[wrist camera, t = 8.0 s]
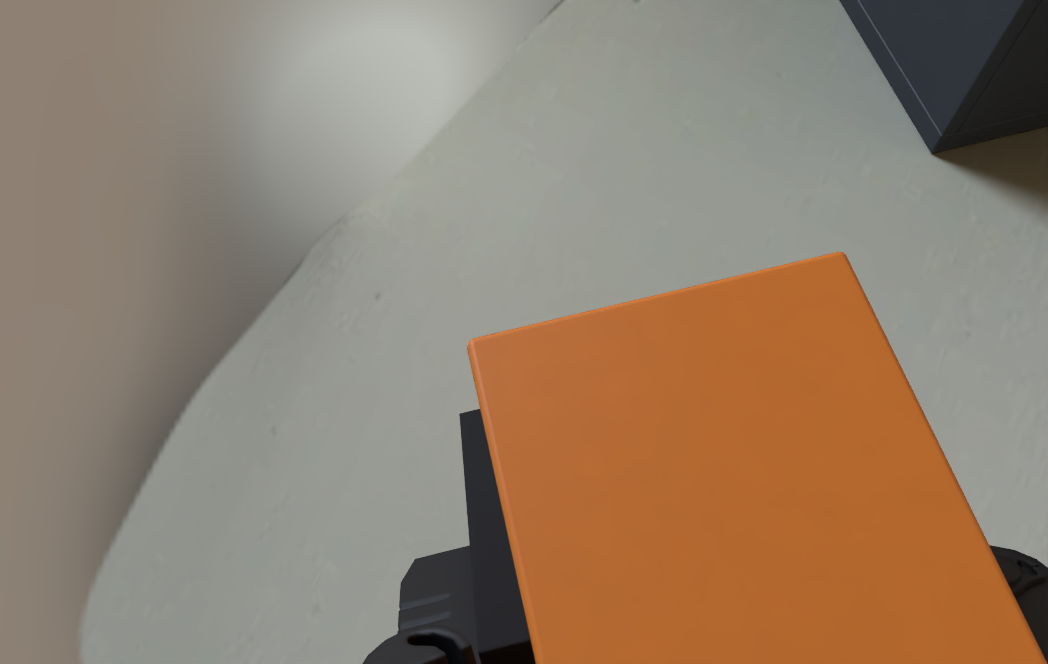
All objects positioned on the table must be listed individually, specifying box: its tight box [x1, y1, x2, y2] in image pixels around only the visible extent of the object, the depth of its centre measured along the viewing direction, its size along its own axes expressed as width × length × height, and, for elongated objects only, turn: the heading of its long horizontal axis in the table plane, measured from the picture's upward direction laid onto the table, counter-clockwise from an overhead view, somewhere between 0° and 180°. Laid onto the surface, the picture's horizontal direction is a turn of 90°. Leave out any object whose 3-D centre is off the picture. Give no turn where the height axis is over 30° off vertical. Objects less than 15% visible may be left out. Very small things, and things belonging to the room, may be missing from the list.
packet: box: [467, 252, 1047, 664], centre depth 11 cm, size 4×5×12 cm
